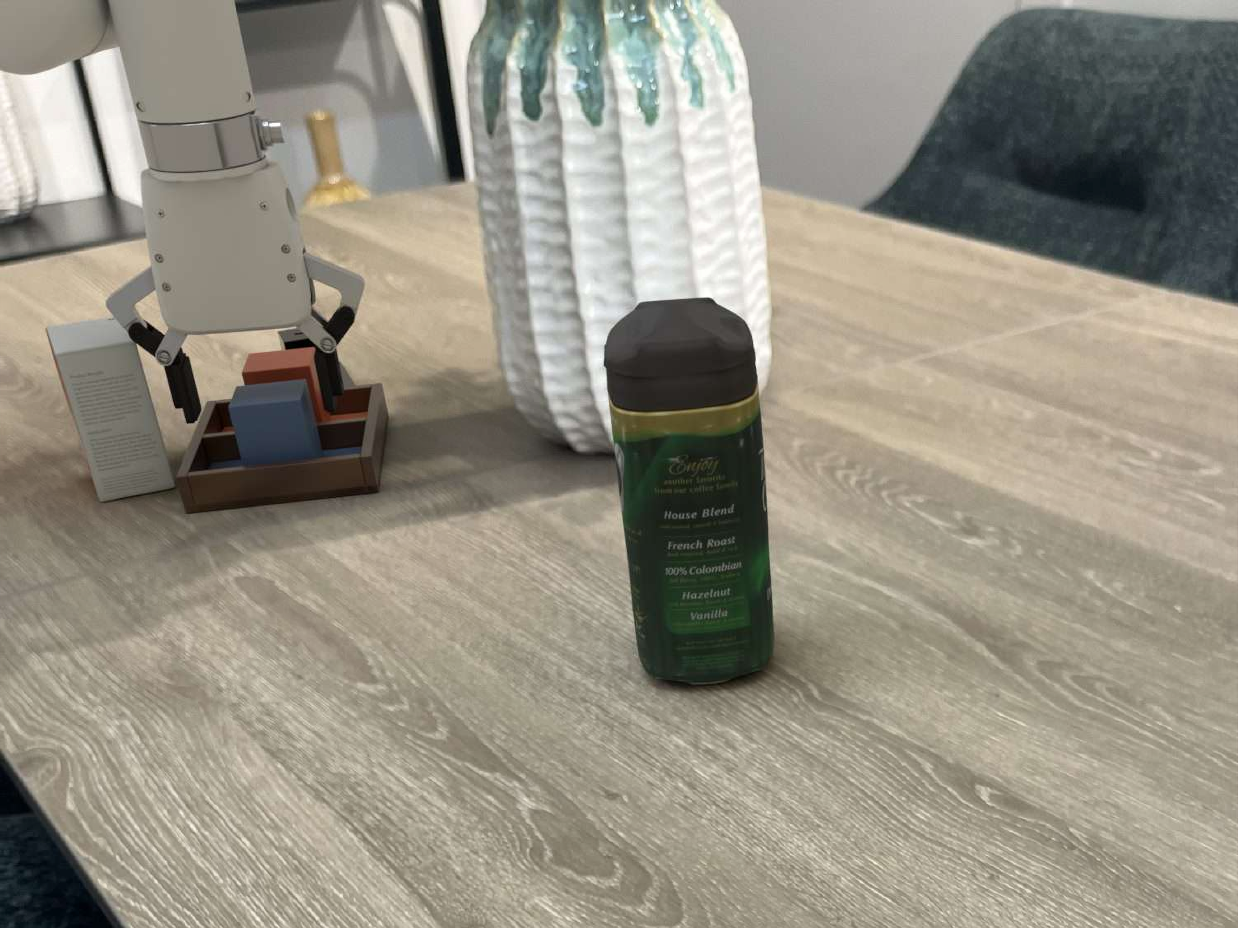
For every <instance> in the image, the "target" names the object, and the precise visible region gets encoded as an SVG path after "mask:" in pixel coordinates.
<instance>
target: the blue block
mask: <svg viewBox="0 0 1238 928" xmlns="http://www.w3.org/2000/svg"><path fill="white" fill-rule="evenodd" d="M234 388H235V389H234V392H233V394H232V397H231V398H230V399H231V402H230V404H229V407H228V409H229V412H230V416H231V420H232V424H233V428H234V432H235V436H236V440H237V443H238V447H239V451H240V455H241V459H242V463H243V466H252V465H261V464H270V463H279V462H288V461H297V460H307V459H316V458H323V451H322V447H321V442H320V438H319V434H318V429H317V425H316V420H315V416H314V412H313V407H312V403H311V399H310V394H309V390H308V385H307V381H306V379H301V380H292V381H282V382H273V383H263V384H254V385H237V386H235V387H234Z"/></svg>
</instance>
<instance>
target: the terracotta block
mask: <svg viewBox="0 0 1238 928" xmlns="http://www.w3.org/2000/svg"><path fill="white" fill-rule="evenodd" d="M314 353H315V347H309V348H299V349H289V350H272V351H262V352H261V351H260V352H251V353H248V355H247V358H246V361H245V363H244V366H243V368H242V371H241V376H242V380H243V384H244V385H254V384H263V383H273V382H282V381H292V380H301V379H306V381H307V385H308V390H309V394H310V399H311V403H312V407H313V412H314V416H315V420H316V422H324V421H331V417H330V413H329V412H327V410H326V411H325V410H324V407H323V402H322V397H321V392H320V387H319V382H318V377H317V372H316V367H315V362H314ZM244 385H243V386H244Z"/></svg>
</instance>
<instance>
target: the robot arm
mask: <svg viewBox="0 0 1238 928" xmlns="http://www.w3.org/2000/svg"><path fill="white" fill-rule="evenodd" d="M243 42H244V41H243V37H242V32H241V27H240V22H239V17H238V13H237V7H236V3H235V0H0V71H2V72H5V73H8V74H13V75H19V76H32V75H38V74H41V73H44V72H47V71H50V70H53V69H55V68H58V67H61V66H63V65H65V64H67V63H71V62H73V61H74V62H75V61H77V60H81V59H83V58H86V57H89V56H93V55H96V54H98V53H100V52H104V51H108V50H111V49H117V48H119V52H120V56H121V60H122V63H123V68H124V71H125V76H126V80H127V84H128V88H129V93H130V96H131V97H130V98H131V101H132V104H133V109H134V113H135V116H136V121H137V125H138V129H139V135H140V138H141V142H142V147H143V151H144V155H145V158H146V163H147V167H148V168H146V169H143V170H141V172H140V191H141V204H142V215H143V222H144V230H145V236H146V237H145V238H146V242H147V250H148V256H149V261H150V262H149V263H150V265H149V266H148V267H147V268H145V269H144V270H142V271H141V272H139V273H138V274H137V275H135V276H134V277H132V278H131V279H130V280H129V281H127V282H125V283H124V284H122V285H121V286H120V287H118V288H117V289H116V290H114V291H113V292H111V293H110V294H109V295H108V297H107V298H106V301H105V306H106V308H107V310H108V311H109V312H110V314H111V315H112V317H115V318H116V320H117V321H118V322H119V323H120V325H121V326H122V327H123V328H124V329H125V330H126V331H127V332H128V334H129V337H130V339H131V340H132V341H134V342H135V343H136V344H137V346H139V347H140V348H142V349H143V350H144V351H145V352H147V353H148V354H150V356H152V357H154V358H155V360H156V362H157V363H158V364H159V365H161V366H163V368H164V372H165V375H166V380H167V384H168V388H169V392H170V396H171V400H172V404H173V407H174V409H175V410H179V409H182V412H183V416H184V421H185V423H186V425H191V424H195V423H196V422H198V421H199V419H200V416H201V414H202V411H203V410H202V403H201V400H200V395H199V392H198V388H197V384H196V379H195V376H194V370H193V367H192V363H191V359H190V356H189V355H187V353H186V352H184V351H183V347H182V346H183V344H184V342H185V341H186V339H187V337H188V336H201V335H202V336H203V335H204V336H205V335H215V334H216V335H217V334H232V333H243V332H255V331H257V332H258V331H269V330H279V329H281V330H282V329H287V328H288V329H289V328H294V327H296V328H298V329H299V330H300V331H301V332H302V333H303V334H304V335H305V336H307V337H308V338H309V339H310V340H311V341H312V342H313V343H314V344H315V346H316V349H315V353H314V362H315V367H316V372H317V377H318V382H319V387H320V392H321V397H322V402H323V407H324V410H325V411H326V410H327V412H335V410H336V405H337V396H341V395H344V386H343V380H342V375H341V370H340V364H339V361H340V359H339V355H338V350H337V349H338V348H337V346H338V345H339V344H340V343H341V342H342V340H343V338H344V337H345V335H346V334H347V333H348V331H349V330H350V329H351V328H352V326H353V324H354V322H355V320H356V316H357V313H358V310H359V306H360V303H361V300H362V297H363V293H364V290H365V285H366V284H365V283H366V281H365V278H364V277H363V276H362V275H361V274H358V273H356V272H353V271H351V270H349V269H347V268H344V267H342V266H340V265H337V264H335V263H332V262H330V261H328V260H326V259H324V258H321V257H318V256H316V255H314V254H312V253H309V252H308V251H307V246H306V243H305V238H304V234H303V230H302V227H301V224H300V218H299V215H298V212H297V209H296V205H295V201H294V198H293V196H292V195H293V194H292V192H291V190H290V187H289V184H288V180H287V177H286V175H285V172H284V170H283V168H282V165H281V163H280V160H278V159H276V158H267V155H266V153H267V151H268V150H269V149H270V147H274V146H275V144H285V143H286V137H285V131H284V126H283V121H282V120H281V119H279V120H278V119H277V120H270V118H264V115H263V114H260V112H259V108H258V107H257V106H256V102H255V96H254V91H253V86H252V81H251V76H250V72H249V71H250V70H249V67H248V61H247V56H246V52H245V47H244V43H243ZM314 281H316V282H319V283H321V284H323V285H325V286H328V287H330V288H332V289H335V290H337V291H338V292H339V293H340V295H341V298H340V302H339V305H338V307H337V308H336V310H335V311H334V313H333V314H332V316H331V317H330V318H329V319H328V318H326V316H324V315H323V314H322V313H321V312H320V311H319V310H318V309H317V308H315V306H313V305H314V304H316V300H317V299H316V297H317V295H316V287H315V282H314ZM154 291H155V293H156V298H157V302H158V306H159V309H160V312H161V317H162V320H163V321H164V323H165V325H166V327H167V328H168V329H167V330H166V332H165V333H163V332H162V331H160V330H159V329H157V328H156V327H155V326H154V325H152V324H151V323H150V322H148V321H147V320H145V319H144V318H143V317H142V315H140V312H139V311H138V309H137V308H136V304H137V303H139V302H141V301H142V300H144V299H145V298H146V297H147V296H149V295H151V294H152V293H153V292H154Z"/></svg>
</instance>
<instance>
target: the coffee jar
mask: <svg viewBox="0 0 1238 928" xmlns="http://www.w3.org/2000/svg"><path fill="white" fill-rule="evenodd" d="M606 337H607V338H606V341H605V343H604V346H603V367H604V368H605V373H606V389H607V398H608V407H609V416H610V425H611V433H612V442H613V450H614V460H615V467H616V477H617V486H618V495H619V500H620V501H619V502H620V509H621V518H622V526H623V534H624V541H625V549H626V560H627V564H628V565H627V567H628V577H629V587H630V595H631V596H630V597H631V609H632V615H633V623H634V634H635V639H636V646H637V647H636V649H637V654H638V658H639V661H640V663H641V665H642V668H643V669H644V670H645V672H646V673H647V674H648V675H649V676H651V677H652V678H654V679H657V680H658V679H659V680H666V681H667V680H668V681H674V682H681V683H687V684H690V685H714V684H719V683H725V682H728V681H730V680H732V679H735V678H737V677H741V676H744V675H748V674H751V673H753V672H757V671H761V670H763V669H764V668H765V667H766V666H767V665H768V664H769V662H770V661H771V659H772V656H773V653H774V649H775V647H774V646H775V632H774V631H775V628H774V626H775V625H774V605H773V603H774V602H773V589H772V571H771V558H770V539H769V517H768V515H769V514H768V494H767V492H768V491H767V478H766V477H767V476H766V473H767V472H766V463H765V446H764V435H763V434H764V433H763V423H762V422H763V421H762V412H761V401H760V390H759V389H760V387H759V378H758V372H757V371H758V370H757V358H756V357H757V356H756V350H755V346H754V338H753V334H752V331H751V329H750V327H749V325H748V323H747V321H745V319H744V318H742V317H741V316H740V315H738V314H737V313H735V312H733V311H732V310H730V309H728V308H726V307H725V306H722V305H720V304H719V303H717V302H716V301H715V299H714V298H712V297H709V296H705V297H687V298H673V299H658V300H647V301H646V300H645V301H640V302H639V303H638V304H637V305H636V306H635V307H634V309H633V310H631V311H630V312H629V313H627V314H626V315H625V316H623V317H622V318H621V319H619V320H618V321H617V322H616V323H615V324H614V325H613V326H612V327H611V329H610V330H609V331H608V333H607V336H606Z"/></svg>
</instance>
